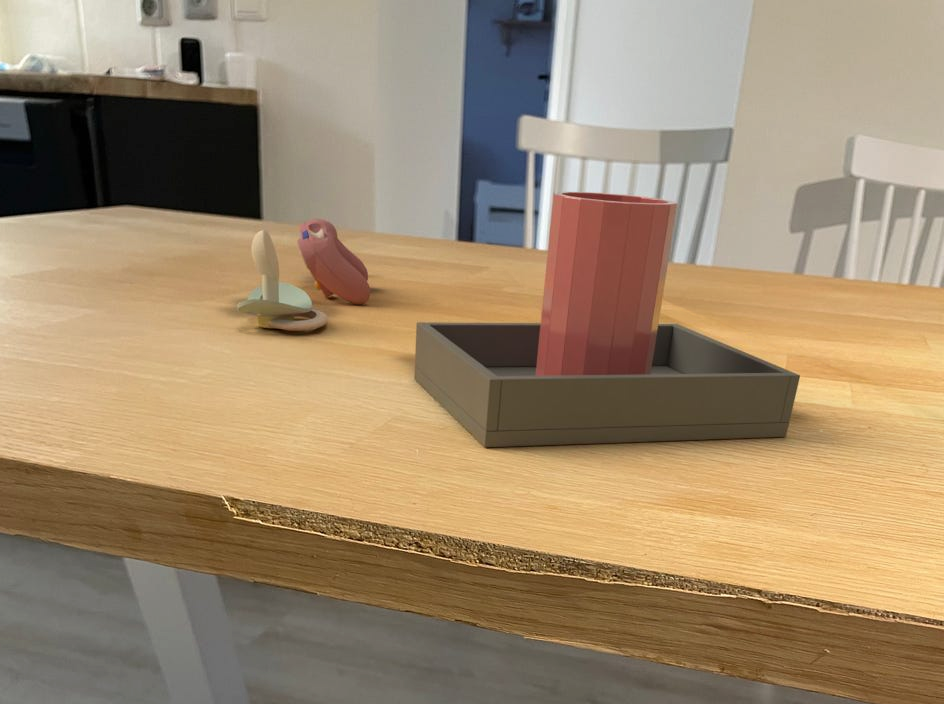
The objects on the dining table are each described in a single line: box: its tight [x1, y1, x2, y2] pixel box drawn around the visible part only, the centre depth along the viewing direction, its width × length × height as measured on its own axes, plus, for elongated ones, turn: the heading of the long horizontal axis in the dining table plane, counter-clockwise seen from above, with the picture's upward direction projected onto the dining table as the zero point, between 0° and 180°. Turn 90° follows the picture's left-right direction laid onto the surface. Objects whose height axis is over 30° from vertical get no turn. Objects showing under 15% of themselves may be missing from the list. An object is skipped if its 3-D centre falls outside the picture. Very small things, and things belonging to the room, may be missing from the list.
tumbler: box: [535, 191, 678, 376], centre depth 51 cm, size 6×6×10 cm
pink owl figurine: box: [296, 218, 372, 305], centre depth 79 cm, size 10×5×7 cm, turn 6°
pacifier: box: [236, 229, 329, 332], centre depth 66 cm, size 7×6×6 cm
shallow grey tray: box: [413, 321, 801, 448], centre depth 53 cm, size 17×13×3 cm
